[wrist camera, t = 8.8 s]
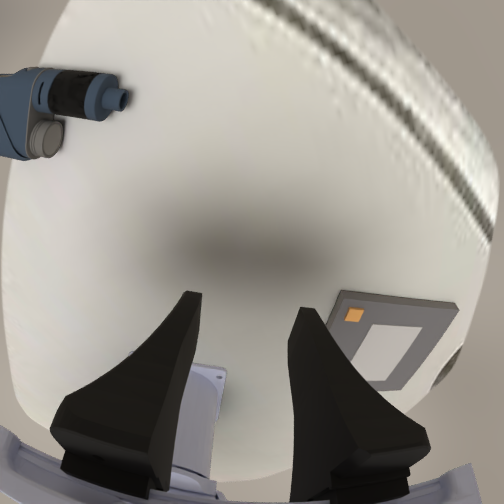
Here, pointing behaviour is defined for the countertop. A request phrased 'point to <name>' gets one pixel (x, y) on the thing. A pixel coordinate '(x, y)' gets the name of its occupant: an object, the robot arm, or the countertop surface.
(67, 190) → the countertop surface
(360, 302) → the computer chip
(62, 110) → the vaping device
